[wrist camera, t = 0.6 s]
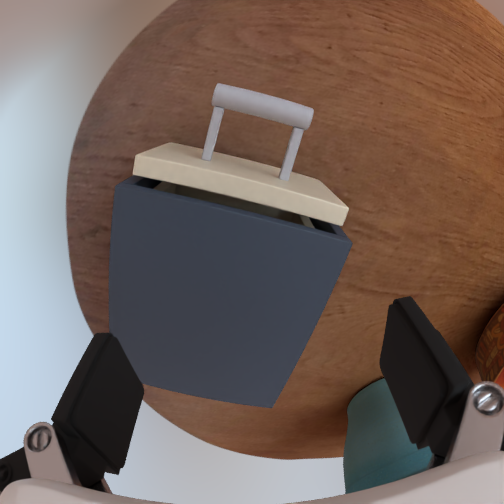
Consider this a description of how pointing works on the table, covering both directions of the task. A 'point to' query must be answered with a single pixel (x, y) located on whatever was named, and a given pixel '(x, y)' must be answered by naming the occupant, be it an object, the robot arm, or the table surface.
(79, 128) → the table surface
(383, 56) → the table surface
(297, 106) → the drawer
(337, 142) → the table surface
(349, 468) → the flower pot
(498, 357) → the bowl
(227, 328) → the cabinet
